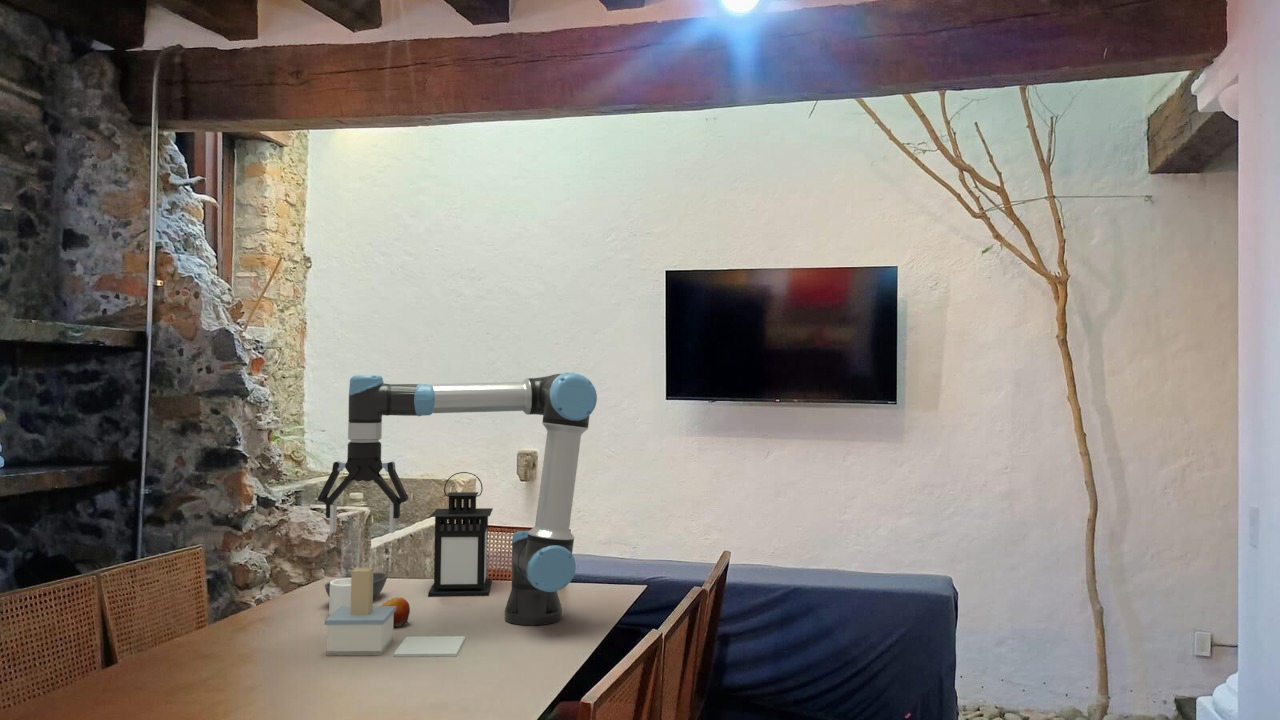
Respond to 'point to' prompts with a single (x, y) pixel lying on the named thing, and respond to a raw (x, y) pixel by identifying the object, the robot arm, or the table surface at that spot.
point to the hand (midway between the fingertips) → (362, 532)
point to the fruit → (399, 610)
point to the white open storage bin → (359, 639)
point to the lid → (361, 603)
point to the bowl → (378, 584)
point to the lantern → (461, 547)
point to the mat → (430, 646)
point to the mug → (339, 594)
